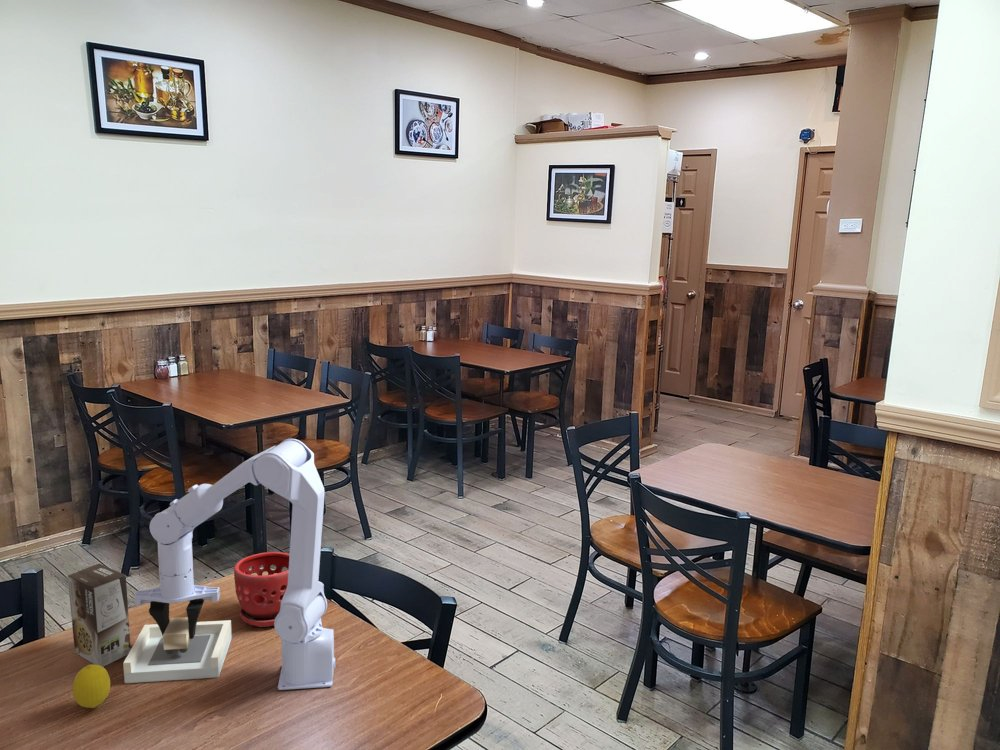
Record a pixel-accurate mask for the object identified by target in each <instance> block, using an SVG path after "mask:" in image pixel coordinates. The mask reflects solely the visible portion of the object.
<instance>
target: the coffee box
mask: <svg viewBox="0 0 1000 750" xmlns="http://www.w3.org/2000/svg"><path fill="white" fill-rule="evenodd" d="M67 585H68V596H69V605H70V606H69V608H70V613H71V614H70V616H71V626H72V627H71V628H72V638H73V649H74V654H76V653H77V654H76V655H78V656H79V655H80V656H79V657H81V658H83V659H85V660H86V661H88V662H90V664H91V663H92V665H100V666H102V667H105V666H107V665H109V664H112V663H114V662H116V661H118V660H120V659H122V658H126V657H127V656H128V654H129V652H130V650H131V648H132V646H131V631H130V630H131V629H130V617H129V604H128V603H129V602H128V601H129V600H128V588H127V587H128V586H127V575H126V574H124V573H123V572H119V571H117V570H115V569H114V568H110V567H108V566H105V564H102V563H97V564H93V565H91V566H88V567H87V568H86V567H85V568H84V569H81V570H78V571H76V572H73V573H70V574H68V575H67Z"/></svg>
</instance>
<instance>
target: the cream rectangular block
mask: <svg viewBox="0 0 1000 750" xmlns="http://www.w3.org/2000/svg"><path fill="white" fill-rule="evenodd" d="M169 620H170V622H169V624H168V626H167V628H166V630H165V632H164V634H163V643H164V650H166V653H168V654H170V653H172V652H173V651H174V649H179V650H180V652H181V653H185V652H186V651H187V649H188V645H189V643H190V640H191V639H190V638H189V623H188V616H184V617H183V616H182V617H171V618H170V619H169Z"/></svg>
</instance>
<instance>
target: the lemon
mask: <svg viewBox="0 0 1000 750" xmlns="http://www.w3.org/2000/svg"><path fill="white" fill-rule="evenodd" d="M104 667H105V666H103V667H102V666H100V665H95V664H93V663H92V664H91V663H90V664H88V665H86V666H84V667H82V668H81V669H80V670H79V671H78V672H77V673H76V675H75V677H74V680H73V683H72V694H73V698H74V700H75V701H76V703H77V704H78V705H79V706H80V707H82V708H89V709H90V708H91V709H95V708H96V707H97V706H99V705H101V704H102V703H103V702H104V701H105V700H106V699H107V698H108V696H109V693H110V690H111V678H110V675H109V673H108V671H107V669H106V668H104Z"/></svg>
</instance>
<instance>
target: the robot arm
mask: <svg viewBox="0 0 1000 750" xmlns="http://www.w3.org/2000/svg"><path fill="white" fill-rule="evenodd" d="M248 483H250V484H252V485H253V486H259V485H262V486H264V487H265V488H267V489H269V490H270V491H272V492H273V493H276V494H277V495H279V496H281V497H282V498H284V499H285V500H288V501H289V502H290V503H291V504H292V508H291V509H292V510H291V525H290V541H289V554H290V555H289V571H288V586H287V589H286V591H285V594H284V596H283V599H282V601H281V607H280V612H279V613H278V615H277V616H276V618H275V622H274V626H273V627H274V631H275V632H276V634H277V635H278V637H279V638H280V639H281V670H280V675H279V679H278V685H277V690H279V691H285V690H286V691H287V690H298V689H299V690H300V689H313V688H314V689H315V688H328V687H333V682H334V679H333V678H334V670H335V669H336V657H335V636H334V635H335V632H334V631H335V630H334V628H325V627H323V624H322V617H323V615H324V614H325V613H326V611H327V608H328V601H327V600H328V599H327V598H326V596H325V588H324V587H325V585H324V583H323V582H321V581H319V576H320V565H321V562H320V561H321V549H322V548H321V547H322V535H323V534H322V533H323V523H324V521H323V520H324V509H325V506H324V505H325V494H326V493H325V492H326V491H325V487H324V485H323V481H322V480H321V477H320V474H319V472H318V469H317V467H316V465H315V453H314V452H313V451H312V450H311V449H310V448H309V447H308V446H307V445H306V444H305V443H304V442H302V441H301V440H299V439H296V438H287V439H284V440H282V441H281V442H279V444H278V445H273V446H271V447H269V448H267V449H265V450H263V451H261V452H259V453H258V454H255V455H253V456H252V457H250V458H248V459H247V460H244V461H243V462H242V463H240V464H239V465H238V466H236V467H235V468H234V469H232V470H231V471H230V472H229V473H226V475H224V476H223V477H222V478H221V479H219V480H218V481H216V482H215V483H214V484H210V483H202V484H199V485H198V484H194V485H192V486H191V487H189V488H188V489H187V492H188V493H187V494H185V495H183V496H182V497H181V498H179V499H177V498H175V499H174V500H173V501H170V503H169V506H168V508H166V509H164V510H161V512H158V513H156V514H155V515H154V517H152V519H151V520H150V522H149V532H150V534H151V536H152V538H153V539H154V540H155V541H156V542H157V557H158V558H157V559H158V572H159V573H158V574H159V587H156V588H155V587H154V588H151V589H144V590H137V591H136V592H135V594H134V596H133V597H134V600H133V601H134V606H141V605H142V604H149V609H148V614H149V615H150V616H151V617H152V618H153V620H154V621H155V623H156V624H158V626H159V628H160V630H161V633H162V636H163V634H164V632H165V630H166V628H167V626H168V624H169V622H170V620H171V619H170V604H178V603H185V602H189V603H188V604H187V606H186V609H185V610H186V615H187V616H186V617H188V623H189V638H190V639H193V638H194V635H195V631H196V624H197V622H198V620H199V615H200V613H201V610H202V607H203V606H204V605H203V604H204V602H205V601H211V602H214V603H215V602H216V603H217V602H218V601H219V600H220V597H221V593H220V591H221V590H220V588H221V587H220V586H217V587H215V586H206V585H205V586H204V585H197V584H195V582H194V579H195V578H194V564H193V563H194V562H193V561H194V560H193V543H192V542H193V537H194V536H193V534H194V533H193V532H194V529H195V528H196V527H198V526H199V525H201V524H202V523H204V522H205V521H207V520H209V519H210V518H212V517H213V516H214V515H215V514H217V513H219V511H221V510H222V509H223V505H224V499H225V498H227V497H228V496H230V495H231V494H233V493H234V492H236V491H237V490H240V489H241V488H243V487H244V486H245V485H247V484H248Z"/></svg>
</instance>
